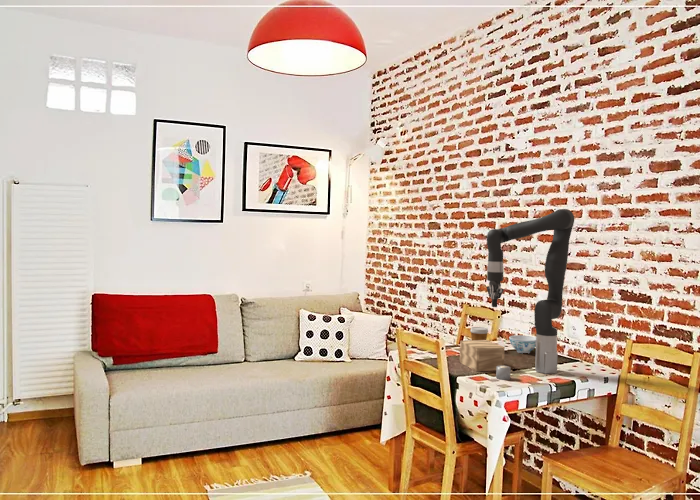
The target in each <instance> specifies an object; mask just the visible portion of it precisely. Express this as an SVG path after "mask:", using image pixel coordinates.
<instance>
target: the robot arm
mask: <svg viewBox="0 0 700 500" xmlns="http://www.w3.org/2000/svg"><path fill="white" fill-rule="evenodd" d="M574 225H575V215H574V213H573V212H572V211H571V210H570V209H567V208H561V209H557V210H555V211H554V212H550V213H549V214H547V215H544V216H541V217H538V218H534V219H531V220H525V221H521V222H518V223H513V224H510V225H508V226H505V227H502V228H493V229H491V230H489V231H488V232H487V234H486V246H487V247H486V248H487V252H488V253H487V254H488V255H487V256H488V257H487V267H486V271H487V272H486V274H487V275H486V280H487V281H488V282H489V283H488V285H487V286H486V290H487V294H488V296H489V298H490V299H491V307H492V308H497V307H498V300H499V299H501V297H502V294H503V293H504V288H502V287H501V286H502V283H501V282H503V281H504V268H505V267H504V251H503V250H502V244H503V243H507V242H509V241H512V240H518V239H521V238H525V237H529V236H531V235H535V234H538V233H542V232H547V231H553V236H552V241H551V243H550V246H549V248H548V251H547V254H546V257H545V258H546V259H545V264H544V274H545V275H544V276H545V279H546V282H547V286H548V287H547V288H548V292H547V297H546V299H543V300H538V301H537V302H536V304H535V306H534V328H535V331H536V333H535V337H536V347H535V365H534V370H535V372H537V373H541V374H545V375H546V374H557V373H558V353H559V352H558V350H557V349H558V348H557V347H558V329H557V327H554V326H553V320H555V319H558V318H559V317H560V316H561V314H562V308H563V291H564V284H565V277H566V276H565V275H566V271H567V265H568V257H569V249H570V248H569V246H570V245H569V244H570V240H571V238H570V237H571V234H572V230H573V227H574Z"/></svg>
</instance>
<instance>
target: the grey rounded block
mask: <svg viewBox="0 0 700 500" xmlns="http://www.w3.org/2000/svg"><path fill="white" fill-rule="evenodd" d="M511 370H512V369H511V366H508V365H504V366H503V365H500V366H496V370H495V373H496V374H495V379H497V380H501V381H509V380H511Z"/></svg>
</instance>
